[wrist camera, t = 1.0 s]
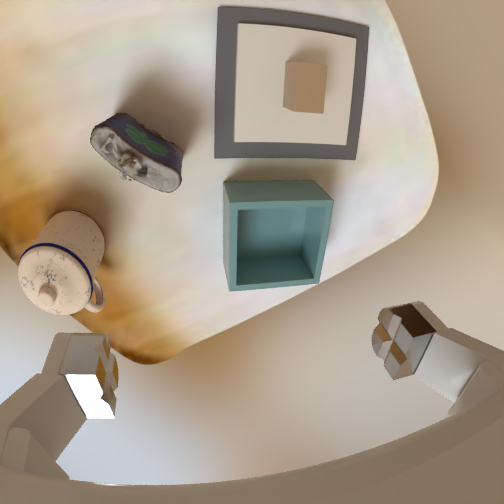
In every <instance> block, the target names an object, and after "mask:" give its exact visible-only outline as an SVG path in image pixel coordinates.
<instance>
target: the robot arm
mask: <svg viewBox="0 0 504 504" xmlns="http://www.w3.org/2000/svg"><path fill="white" fill-rule="evenodd" d="M378 320H379V322H380V323H379V325H378V326H377V327H376V328H375V329H374V332H373V335H372V346H373V349H374V351H375V353H376V355H377V356H378V357H379V358H381V359H383V360H385V362H384V367H385V368H386V370H387V371H388V373H389V374H390V376H391V377H392V379H393V380H396V379H399V378H403V377H406V376H410V375H413V374H414V376H415V377H416V378H418V379H419V380H421V381H422V382H424V383H425V384H427V385H428V386H430V387H431V388H433V389H434V390H436V391H437V392H439V393H440V394H442V395H443V396H445V397H447V398H448V399H450V400H451V401H453V402H454V405H453V406H452V407H451V409H450V410H449V412H448V416H449V417H447V418H445V419H443V420H441V421H439V422H437V423H435V424H432V425H430V426H428V427H426V428H424V429H421V430H419V431H417V432H414V433H412V434H409V435H407V436H405V437H402V438H399V439H397V440H394V441H392V442H389V443H386V444H384V445H381V446H378V447H375V448H372V449H369V450H366V451H363V452H360V453H357V454H354V455H350V456H348V457H344V458H340V459H337V460H333V461H330V462H326V463H322V464H319V465H314V466H310V467H306V468H301V469H297V470H292V471H287V472H282V473H277V474H272V475H266V476H260V477H254V478H247V479H240V480H232V481H223V482H213V483H201V484H184V485H122V484H106V483H94V482H85V481H76V480H69V476H68V475H67V474H66V473H65V471H64V470H63V469H62V468H61V467H60V466H59V465H58V464H57V463H56V462H55V461H56V460H57V458H58V457H59V455H60V454H61V453H62V452H63V450H64V449H65V447H66V446H67V445H68V444H69V442H70V441H71V439H72V438H73V437H74V435H75V434H76V433H77V432H78V430H79V429H80V428H81V426H82V425H83V424H84V422H85V421H86V420H87V419H86V418H114V417H115V407H116V397H115V395H114V392H113V391H114V390H115V389H116V388H117V387H118V366H117V361H116V358H115V355H113V354H112V353H111V352H110V348H111V342H110V339H109V336H108V335H107V334H106V333H57V334H56V335H55V337H54V340H53V342H52V345H51V348H50V350H49V353H48V356H47V359H46V361H45V364H44V367H43V370H42V373H41V374H36V375H35V376H34V377H32V378H31V379H30V380H29V381H28V382H26V383H25V384H24V385H23V386H22V387H20V388H19V389H18V390H17V391H16V392H14V393H13V394H12V395H11V396H10V397H9V398H8V399H7V400H5V401H4V402H3V403H2V404H1V405H0V504H504V351H502V350H500V349H498V348H496V347H493V346H491V345H489V344H486V343H484V342H482V341H480V340H478V339H475V338H473V337H471V336H469V335H466V334H464V333H462V332H459V331H457V330H455V329H453V328H449V329H448V328H447V327H446V326H445V325H444V324H443V322H442V321H441V320H440V319H438V317H437V316H436V315H435V314H434V313H433V312H432V311H431V310H430V309H429V308H428V307H427V306H426V305H425V304H424V303H423V302H420V301H417V302H412V303H408V304H403V305H398V306H393V307H387V308H383V309H382V310H381V311H380V313H379V316H378Z"/></svg>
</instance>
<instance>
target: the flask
mask: <svg viewBox="0 0 504 504" xmlns="http://www.w3.org/2000/svg"><path fill="white" fill-rule="evenodd" d="M90 142H91V144H92V146H93V148H94V149H95V150H96V151H97V152H98V153H99V154H100V155H101V156H102V157H103V158H105V159H106V160H107V161H108V162H109V163H110V164H111V165H113V166H114V167H115V168H116V169H118V170H120V172H119V176H120V177H121V178H122V179H123V180H126V179H127V178H126V175H127V176H129V177H131V178H133V179H134V180H136V181H139V182H140V183H143V184H145V185H147V186H149V187H151V188H154V189H156V190H159V191H161V192H167V193H170V192H173V191H175V190H176V189H177V188H178V187H179V186H180V184H181V182H182V177H181V168H182V159H183V153H182V151H181V150H180V148H178V147H177V146H176V145H175V144H174V143H172V142H171V143H170V142H167V141H166V140H165V139H163V138H162V137H161V135H159V134H158V133H157V132H155V131H153V130H151V131H150V130H148V129H146V128H145V127H144V125H142V124H139V123H137V122H136V120H135V119H134V118H132V117H131V116H130V115H128V114H127V113H117V114H116V115H114V116H112V117H110V118H109V119H107V120H106V121H104V122H102V123H100V124H99V125H96V126H95V128H94V129H93V131H92V133H91V138H90ZM123 173H124V174H123ZM125 174H126V175H125ZM128 181H132V180H131V179H129V180H128Z"/></svg>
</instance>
